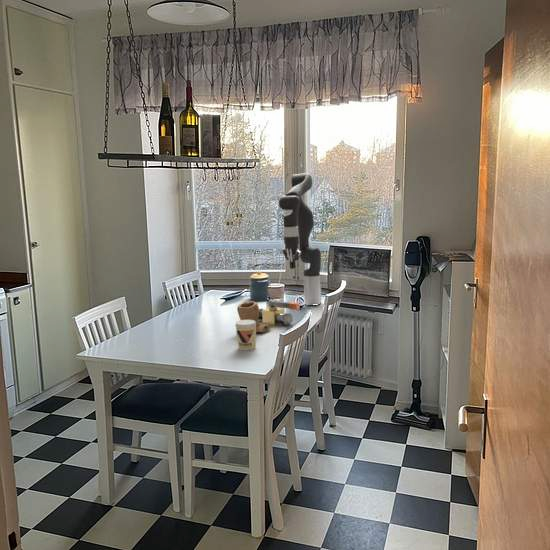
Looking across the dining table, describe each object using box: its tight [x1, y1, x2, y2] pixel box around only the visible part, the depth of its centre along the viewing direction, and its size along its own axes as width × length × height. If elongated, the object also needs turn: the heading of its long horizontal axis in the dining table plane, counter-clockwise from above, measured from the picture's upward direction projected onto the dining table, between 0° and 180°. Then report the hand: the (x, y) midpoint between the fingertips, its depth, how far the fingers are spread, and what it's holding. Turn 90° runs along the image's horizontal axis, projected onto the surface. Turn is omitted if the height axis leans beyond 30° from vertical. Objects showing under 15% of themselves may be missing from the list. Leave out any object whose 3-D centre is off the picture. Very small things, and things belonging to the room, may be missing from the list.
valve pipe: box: [258, 306, 293, 327], centre depth 299 cm, size 20×8×9 cm, turn 50°
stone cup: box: [237, 300, 272, 333], centre depth 283 cm, size 15×12×15 cm
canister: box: [248, 270, 271, 302], centre depth 352 cm, size 13×13×18 cm
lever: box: [267, 299, 301, 311], centre depth 294 cm, size 17×4×3 cm, turn 57°
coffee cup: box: [235, 319, 257, 351], centre depth 259 cm, size 9×9×12 cm
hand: (292, 268), depth 298 cm, fingers closed
